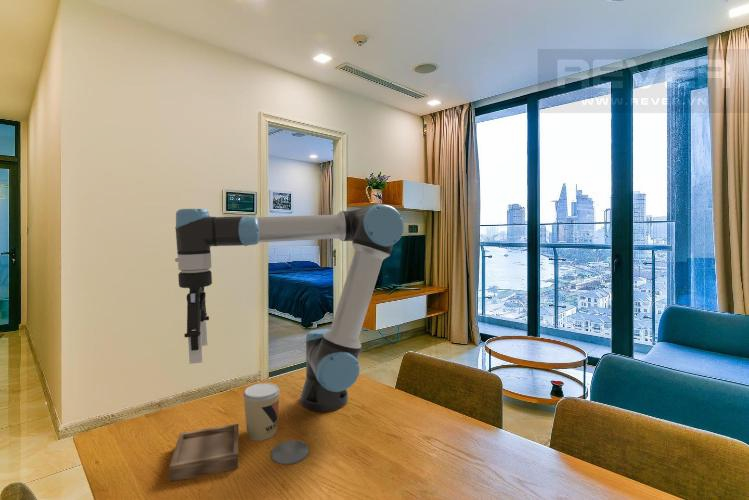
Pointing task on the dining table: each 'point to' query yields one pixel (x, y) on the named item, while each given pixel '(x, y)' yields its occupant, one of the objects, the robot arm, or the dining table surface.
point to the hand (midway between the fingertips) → (199, 353)
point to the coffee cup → (261, 410)
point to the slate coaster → (289, 452)
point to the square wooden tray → (205, 452)
